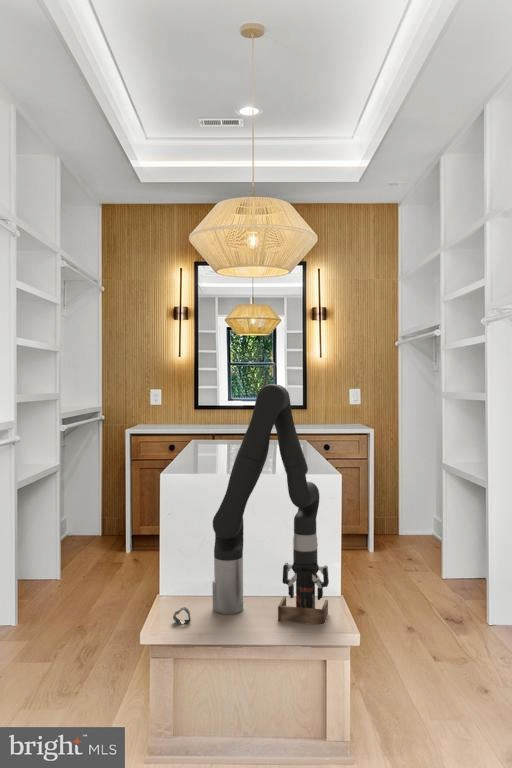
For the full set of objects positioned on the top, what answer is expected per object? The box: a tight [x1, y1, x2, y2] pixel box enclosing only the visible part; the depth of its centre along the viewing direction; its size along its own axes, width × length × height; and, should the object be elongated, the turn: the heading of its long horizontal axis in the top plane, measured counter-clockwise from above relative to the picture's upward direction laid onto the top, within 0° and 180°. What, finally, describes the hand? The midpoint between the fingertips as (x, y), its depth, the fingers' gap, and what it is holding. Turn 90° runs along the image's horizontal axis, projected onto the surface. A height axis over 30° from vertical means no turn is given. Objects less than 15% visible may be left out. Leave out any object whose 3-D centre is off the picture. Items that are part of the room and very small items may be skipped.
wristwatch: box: [172, 606, 192, 625], centre depth 202 cm, size 3×5×5 cm
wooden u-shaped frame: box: [277, 595, 329, 625], centre depth 206 cm, size 14×9×4 cm, turn 76°
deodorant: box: [295, 569, 316, 609], centre depth 207 cm, size 6×6×15 cm
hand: (305, 598), depth 207 cm, fingers open, 8 cm apart
